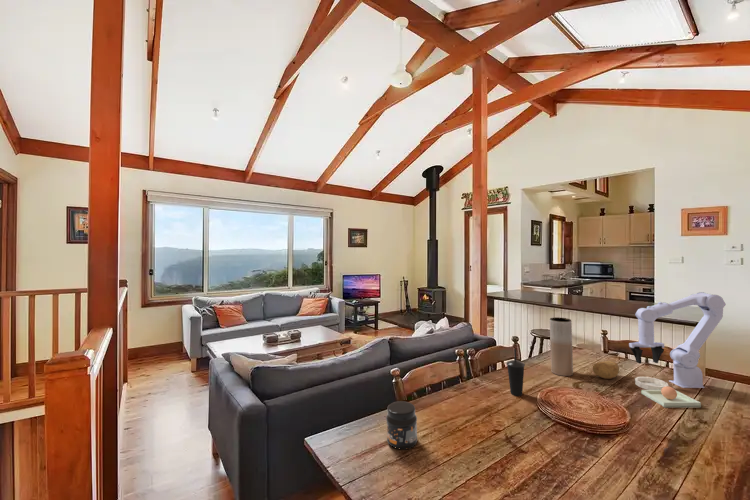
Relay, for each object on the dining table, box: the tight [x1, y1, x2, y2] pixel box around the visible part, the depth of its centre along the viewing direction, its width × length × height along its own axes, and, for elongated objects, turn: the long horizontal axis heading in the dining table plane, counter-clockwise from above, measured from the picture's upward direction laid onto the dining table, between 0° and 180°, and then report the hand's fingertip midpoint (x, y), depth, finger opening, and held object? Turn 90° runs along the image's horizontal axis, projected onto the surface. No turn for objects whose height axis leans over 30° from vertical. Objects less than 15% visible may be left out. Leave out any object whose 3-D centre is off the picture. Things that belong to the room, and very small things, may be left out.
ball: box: [661, 385, 677, 399], centre depth 138 cm, size 5×5×5 cm
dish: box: [634, 376, 670, 390], centre depth 151 cm, size 12×12×2 cm
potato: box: [592, 360, 620, 380], centre depth 163 cm, size 10×14×8 cm
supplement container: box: [385, 400, 418, 450], centre depth 114 cm, size 10×10×12 cm
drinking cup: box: [506, 348, 526, 397], centre depth 148 cm, size 8×8×20 cm
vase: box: [549, 316, 574, 377], centre depth 171 cm, size 10×10×28 cm
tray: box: [641, 389, 702, 409], centre depth 138 cm, size 14×12×2 cm
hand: (647, 362), depth 156 cm, fingers open, 7 cm apart
